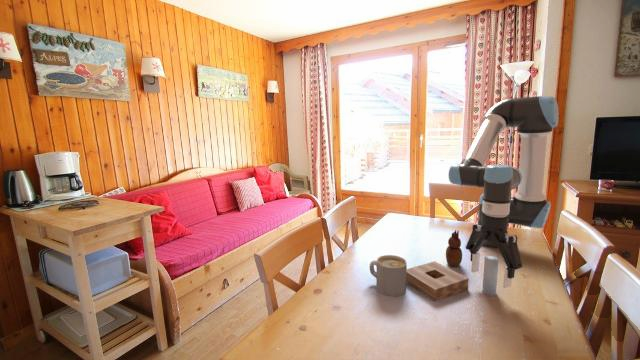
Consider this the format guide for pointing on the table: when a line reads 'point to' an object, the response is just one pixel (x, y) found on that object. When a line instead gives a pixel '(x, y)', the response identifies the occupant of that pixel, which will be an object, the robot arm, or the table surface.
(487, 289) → the peg
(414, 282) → the bore block
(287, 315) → the table surface
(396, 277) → the coffee mug
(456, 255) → the wooden figurine
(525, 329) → the table surface
